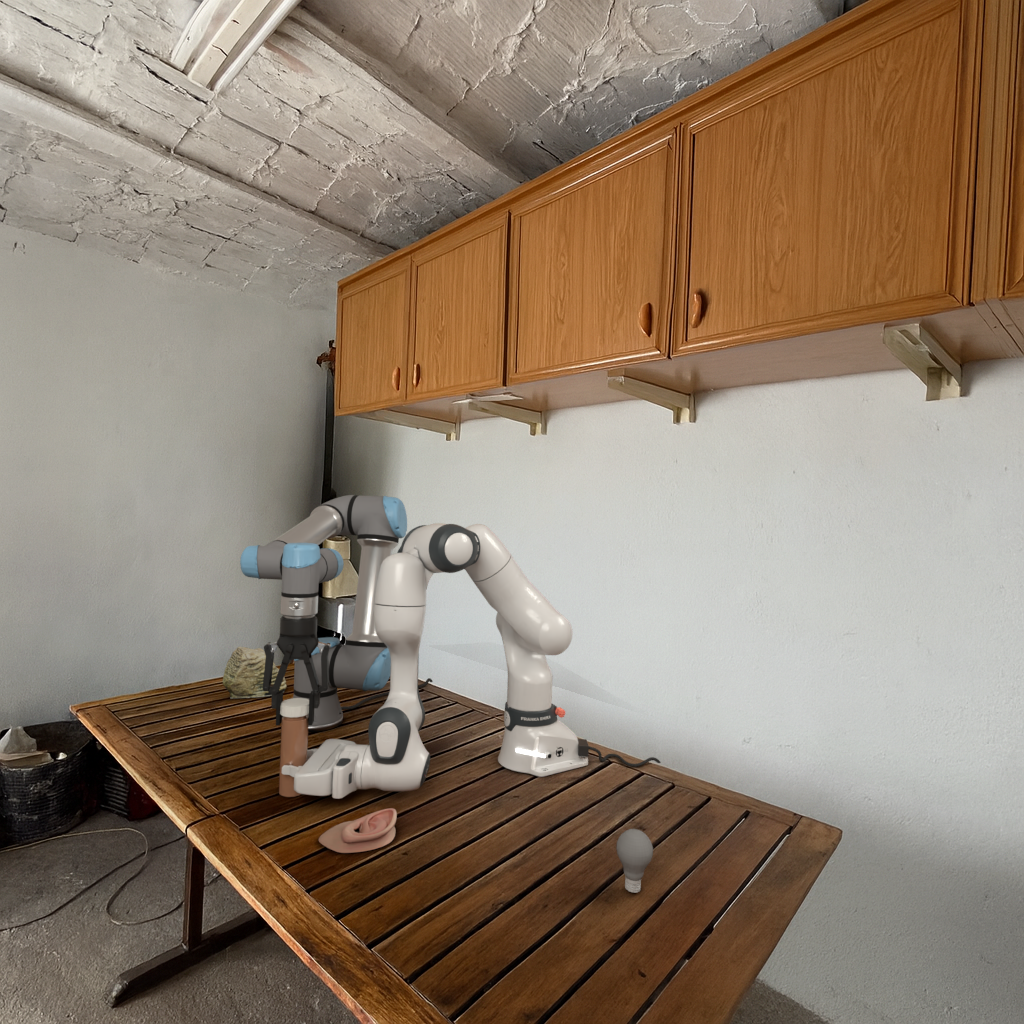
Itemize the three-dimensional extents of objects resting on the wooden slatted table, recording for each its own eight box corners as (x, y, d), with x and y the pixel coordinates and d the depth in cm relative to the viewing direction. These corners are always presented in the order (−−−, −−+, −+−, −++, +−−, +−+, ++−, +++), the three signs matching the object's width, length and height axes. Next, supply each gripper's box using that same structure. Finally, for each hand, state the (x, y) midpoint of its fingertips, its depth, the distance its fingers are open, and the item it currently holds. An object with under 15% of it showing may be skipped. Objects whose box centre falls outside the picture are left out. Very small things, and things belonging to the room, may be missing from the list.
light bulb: (610, 879, 108) (613, 822, 108) (644, 879, 109) (647, 822, 109) (619, 902, 102) (622, 840, 102) (655, 901, 103) (658, 840, 103)
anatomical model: (310, 826, 114) (340, 797, 125) (309, 848, 114) (339, 817, 125) (379, 837, 111) (403, 806, 122) (378, 859, 111) (403, 827, 123)
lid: (274, 712, 135) (275, 701, 135) (301, 706, 140) (301, 696, 140) (289, 719, 131) (289, 709, 131) (316, 713, 136) (316, 702, 136)
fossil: (218, 695, 195) (220, 647, 195) (278, 685, 208) (279, 640, 207) (228, 703, 189) (230, 653, 188) (289, 692, 201) (290, 645, 201)
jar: (301, 783, 140) (304, 702, 139) (309, 793, 135) (312, 709, 135) (275, 788, 136) (278, 706, 136) (282, 799, 132) (286, 713, 132)
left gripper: (247, 618, 130) (243, 730, 130) (342, 619, 133) (338, 729, 133) (256, 611, 137) (253, 717, 138) (346, 613, 140) (342, 716, 141)
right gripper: (367, 733, 145) (307, 730, 146) (338, 771, 125) (269, 767, 126) (365, 760, 145) (306, 757, 146) (337, 803, 125) (268, 798, 126)
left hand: (295, 722), depth 135 cm, fingers closed on lid, 6 cm apart
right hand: (289, 762), depth 136 cm, fingers closed on jar, 5 cm apart
